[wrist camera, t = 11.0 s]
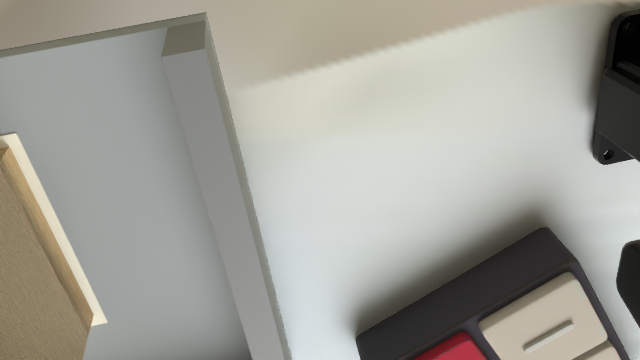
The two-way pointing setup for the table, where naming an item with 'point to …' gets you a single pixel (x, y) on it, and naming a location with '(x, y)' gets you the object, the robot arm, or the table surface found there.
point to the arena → (145, 190)
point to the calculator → (503, 313)
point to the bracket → (35, 279)
